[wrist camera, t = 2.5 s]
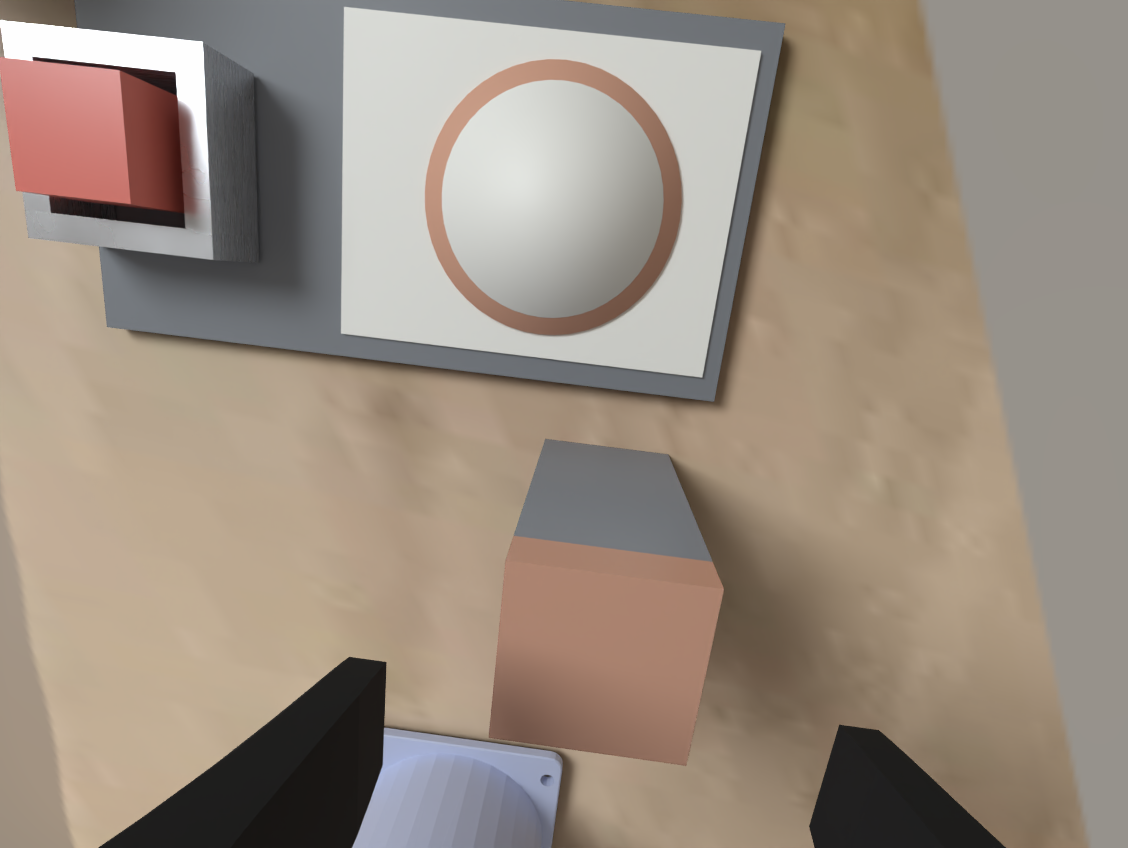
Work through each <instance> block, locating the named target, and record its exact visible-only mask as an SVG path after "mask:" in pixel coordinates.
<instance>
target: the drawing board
mask: <svg viewBox="0 0 1128 848" xmlns="http://www.w3.org/2000/svg"><path fill="white" fill-rule="evenodd" d="M74 1H75V11H76V21H77V29H86V30H95V31H104V32H114V33H123V34H132V35H141V36H151V37H160V38H169V39H178V40H188V41H197V42H203V43H205V44H206V45H208V46H210V47H211V48H213V49H215V50H216V51H218V52H220V53H221V54H223V55H224V56H226V57H228V58H229V59H231V60H233V61H234V62H236V63H237V64H239V65H241V66H242V67H244V68H246V69H247V70H249V71H251V72H252V73H254V106H255V142H256V177H257V212H258V247H259V263H256V262H240V261H223V260H210V259H202V258H193V257H185V256H176V255H168V254H160V253H151V252H143V251H134V250H126V249H117V248H109V247H101V246H99V251H100V261H101V271H102V281H103V291H104V301H105V311H106V321H107V327H111V328H119V329H128V330H136V331H144V332H152V333H160V334H168V335H176V336H184V337H193V338H201V339H209V340H217V341H225V342H233V343H241V344H249V345H258V346H266V347H274V348H282V349H290V350H298V351H306V352H314V353H323V354H331V355H339V356H347V357H355V358H363V359H371V360H380V361H388V362H396V363H404V364H412V365H420V366H428V367H436V368H445V369H453V370H461V371H469V372H477V373H485V374H493V375H501V376H510V377H518V378H526V379H534V380H542V381H550V382H558V383H566V384H575V385H583V386H591V387H599V388H607V389H615V390H623V391H631V392H640V393H648V394H656V395H664V396H672V397H680V398H688V399H696V400H705V401H713V402H714V399H715V394H716V388H717V383H718V378H719V373H720V367H721V362H722V357H723V351H724V346H725V341H726V335H727V330H728V325H729V320H730V314H731V309H732V304H733V298H734V293H735V288H736V282H737V277H738V272H739V267H740V261H741V256H742V251H743V245H744V240H745V235H746V230H747V224H748V219H749V214H750V208H751V203H752V198H753V192H754V187H755V182H756V177H757V171H758V166H759V161H760V155H761V150H762V145H763V140H764V134H765V129H766V124H767V118H768V113H769V108H770V102H771V97H772V92H773V87H774V81H775V76H776V71H777V65H778V60H779V55H780V49H781V44H782V39H783V34H784V28H785V23H775V22H766V21H756V20H747V19H737V18H727V17H718V16H708V15H699V14H689V13H679V12H670V11H660V10H650V9H641V8H631V7H622V6H612V5H602V4H593V3H583V2H574V1H564V0H74ZM169 93H171V92H169ZM172 94H174V95H176V96H177V93H172ZM115 214H116V221H124V222H133V223H141V224H150V225H158V226H167V227H175V228H184V229H185V213H176V212H168V211H159V210H150V209H142V208H133V207H125V206H116V205H115Z"/></svg>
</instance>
